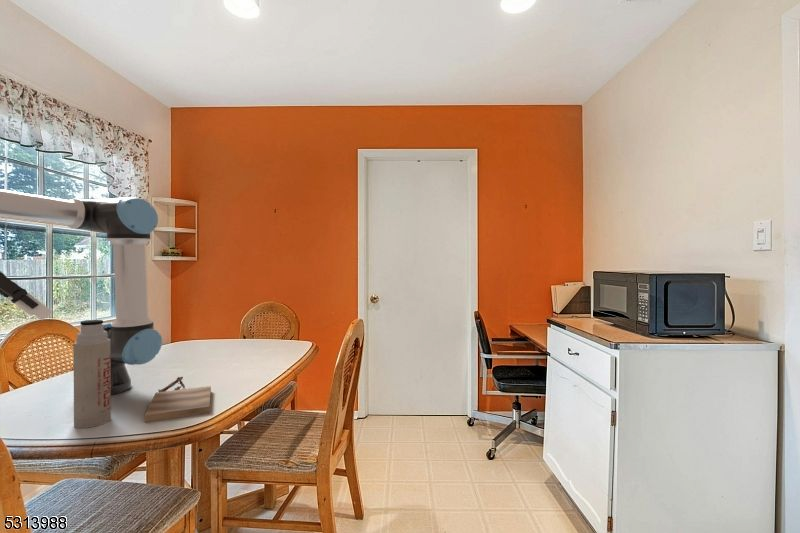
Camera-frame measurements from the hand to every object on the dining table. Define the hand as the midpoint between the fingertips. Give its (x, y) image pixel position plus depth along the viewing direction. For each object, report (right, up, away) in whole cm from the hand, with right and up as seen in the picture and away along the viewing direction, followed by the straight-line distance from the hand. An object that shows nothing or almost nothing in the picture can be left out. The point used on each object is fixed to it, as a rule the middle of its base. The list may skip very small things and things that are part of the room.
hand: (41, 314), depth 98 cm
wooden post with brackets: (+13, -31, +34) cm, 48 cm away
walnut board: (+23, -31, +21) cm, 44 cm away
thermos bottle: (+6, -31, +9) cm, 33 cm away
